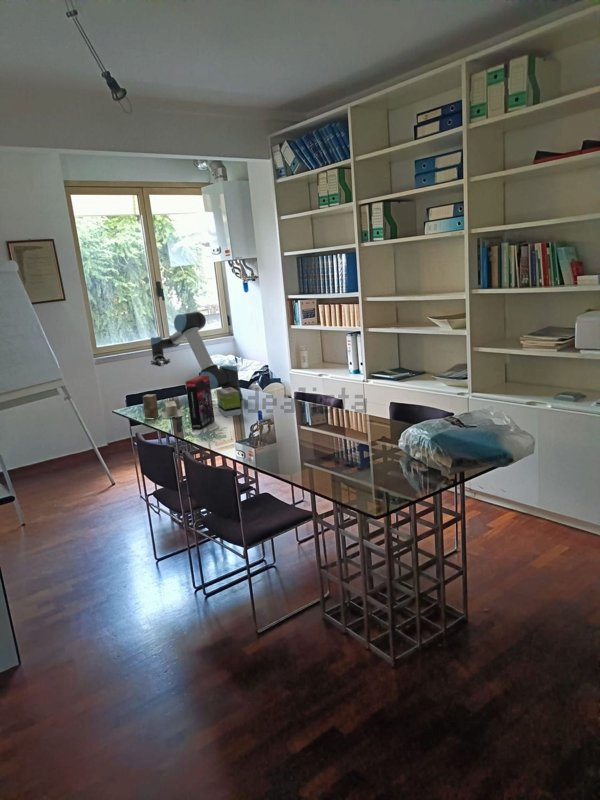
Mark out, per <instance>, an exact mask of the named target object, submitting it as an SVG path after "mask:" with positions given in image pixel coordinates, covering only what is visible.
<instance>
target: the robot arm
mask: <svg viewBox="0 0 600 800" xmlns="http://www.w3.org/2000/svg"><path fill="white" fill-rule="evenodd" d="M206 319H207V318H206V316H205V315H204V314H203V313H202V312H200V311H189V312H181V313H178V314H177V315H175V317H174V321H173V326H174V329H175V330H176V331H175V332H174V333H173V334H172V335H170V336H167V337H162V336H160V335H158V336H151V337H150V346H151V352H152V353H151V354H152V360H150V365H152V366H156V367H165V365H168V364H170V363H171V359H170V358H165V354H164V350H167V349H171V348H177V347H179V346H180V344H181V343H182V341H184V340H185V339H186V340H187V342H188V344H189V346H190V348H191V351H192V352H193V355H194V357H195V359H196V361H197V363H198V365H199V367H200V374H199V375H200V376H209V380H210V388H211V390H214V389H217V388H221V389H223V388H229V387H232V388H234V389H235V390H237V391H239V395H240V399H241V400H243V399H242V398H244V397H243V393H242V391H241V388H240V382H239V371H238V366H237V365H231V364H230V365H229V364H227V365H226V364H222V365H219V367H218V365H217V364H215V363H214V362H213V360H212V358H211V356H210V353H209V351H208V350H207V348H206V346H205V343H204V341H203V339H202V337H201V335H200V333H199V331H200V330H202V329H203V328H204V327H205V326H206V322H207V320H206Z"/></svg>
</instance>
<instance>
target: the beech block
mask: <svg viewBox="0 0 600 800" xmlns="http://www.w3.org/2000/svg"><path fill="white" fill-rule="evenodd" d="M164 409H165V411H164V412H166V413H167V416H168V417H169V416H176V415H178V412H177V410H178V405H177V404H176V401H175V400H169V401H164Z"/></svg>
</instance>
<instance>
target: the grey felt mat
mask: <svg viewBox="0 0 600 800" xmlns="http://www.w3.org/2000/svg"><path fill="white" fill-rule="evenodd" d="M177 412H178V415H176V416H169V417H168V416H167V413H166V411H160V414H161V417H162V419H163V418H168V419H174V418H173V417H175V418H181V416H183V417H184V414H183V413H182V410H181V409H177Z"/></svg>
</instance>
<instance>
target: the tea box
mask: <svg viewBox="0 0 600 800" xmlns="http://www.w3.org/2000/svg"><path fill="white" fill-rule="evenodd" d="M215 391H216V399H217V406H218V407H217V408H218V413H220V414H221V415H222V416H224V417H225V418H229V417H228V416H232V417H235V416H234V415H237V416H241V415H242V405H241V400H240V395H239V391H237V390H235V389H234V388H232V387H229V388H223V389H222V388H219V389H216V390H215ZM240 414H241V415H240Z"/></svg>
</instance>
